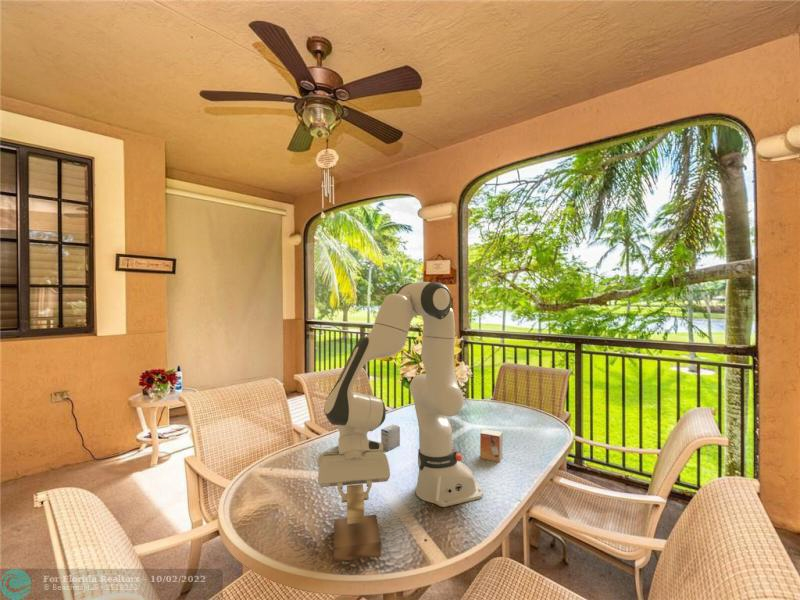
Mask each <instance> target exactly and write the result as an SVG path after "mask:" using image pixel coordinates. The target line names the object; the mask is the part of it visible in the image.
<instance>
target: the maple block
mask: <svg viewBox="0 0 800 600" xmlns="http://www.w3.org/2000/svg"><path fill="white" fill-rule="evenodd" d="M364 489H365V488H364V485H363V484H353V485H346V493H347V502H346V518H347V524H353V523H363V522H364V516H365V500H364V492H365V490H364Z"/></svg>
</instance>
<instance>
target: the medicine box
mask: <svg viewBox="0 0 800 600" xmlns="http://www.w3.org/2000/svg"><path fill="white" fill-rule="evenodd" d="M400 428H401V427H400V426H399V425H397V424H390V425H388V426H385V427H383V428H381V430H380V438H381V440H380V441H381V442H380V443H382V444H383V450H384V449H385V451H387V450H388V451H391V450H393V449H395V448H397V447H398V446H400V445H401V429H400Z"/></svg>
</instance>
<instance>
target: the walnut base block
mask: <svg viewBox="0 0 800 600" xmlns="http://www.w3.org/2000/svg"><path fill="white" fill-rule="evenodd" d="M380 556H382V541H381V535H380V529H379V523H378V518H377V514H369V515H364V522H363V523H353V524H347V517H342V518H334V519H333V562H334V563H336V562H341V561H342V562H343V561H347V560H348V561H349V560H356V559H357V560H358V559H364V558H373V557H380Z"/></svg>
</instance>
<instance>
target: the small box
mask: <svg viewBox="0 0 800 600" xmlns="http://www.w3.org/2000/svg"><path fill="white" fill-rule="evenodd" d="M503 433H504V432H503V431H497V430H490V429H485V428H483V430H481V432H480V437H479V439H480V440H479V441H480V442H479V444H480V445H479V446H480V447H479V451H480V453H479V454H480V456H479V458H480V459H482V460H486V461H487V460H488V461H491V462H497V463H500V462H501V460H502V458H503V449H504V448H503V443H504V442H503Z"/></svg>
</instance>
